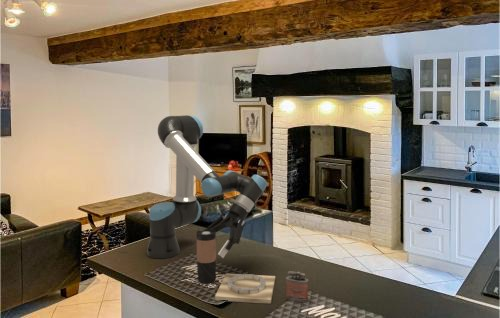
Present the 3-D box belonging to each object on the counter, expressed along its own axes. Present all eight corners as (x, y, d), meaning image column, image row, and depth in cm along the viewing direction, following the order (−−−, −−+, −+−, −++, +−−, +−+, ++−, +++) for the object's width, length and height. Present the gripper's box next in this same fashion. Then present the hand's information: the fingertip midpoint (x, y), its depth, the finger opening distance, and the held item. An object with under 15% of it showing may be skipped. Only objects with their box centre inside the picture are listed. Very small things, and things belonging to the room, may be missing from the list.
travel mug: (213, 285, 156) (212, 235, 153) (194, 283, 157) (193, 234, 155) (218, 277, 163) (218, 229, 161) (200, 275, 165) (199, 228, 162)
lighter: (309, 298, 145) (309, 271, 143) (307, 302, 141) (307, 275, 140) (287, 295, 147) (287, 269, 146) (284, 299, 144) (285, 272, 143)
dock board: (226, 277, 163) (226, 273, 163) (275, 279, 160) (275, 276, 160) (215, 300, 143) (214, 296, 143) (270, 303, 141) (270, 299, 140)
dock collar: (232, 276, 160) (231, 273, 159) (267, 278, 158) (267, 275, 157) (224, 292, 146) (224, 289, 146) (263, 295, 144) (263, 291, 144)
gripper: (265, 219, 158) (234, 265, 151) (229, 207, 178) (200, 247, 170) (254, 208, 154) (222, 255, 147) (219, 197, 174) (189, 238, 167)
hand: (211, 251), depth 159 cm, fingers open, 13 cm apart
